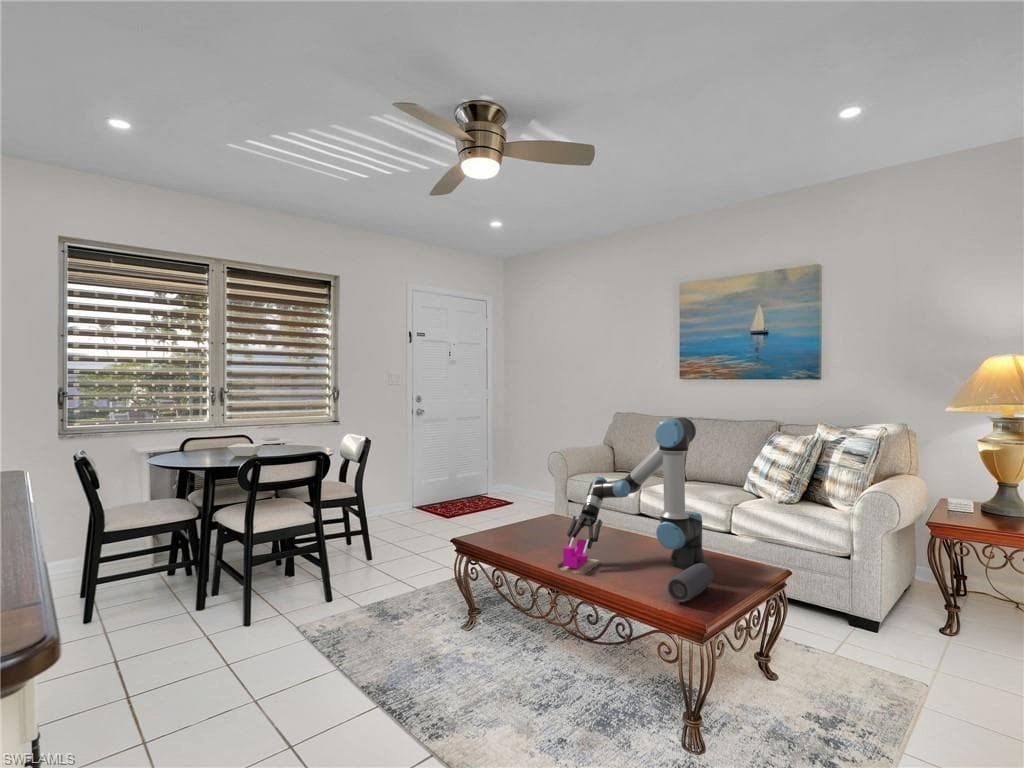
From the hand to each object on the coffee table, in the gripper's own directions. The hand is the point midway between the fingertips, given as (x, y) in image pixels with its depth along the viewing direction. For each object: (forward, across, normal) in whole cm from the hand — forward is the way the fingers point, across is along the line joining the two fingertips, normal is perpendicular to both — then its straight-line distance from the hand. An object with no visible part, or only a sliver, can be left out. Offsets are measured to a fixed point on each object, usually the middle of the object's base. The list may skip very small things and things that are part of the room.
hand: (577, 553), depth 232 cm
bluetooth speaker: (+9, -49, 0) cm, 50 cm away
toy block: (+2, 0, -4) cm, 4 cm away
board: (+3, 0, -6) cm, 7 cm away
